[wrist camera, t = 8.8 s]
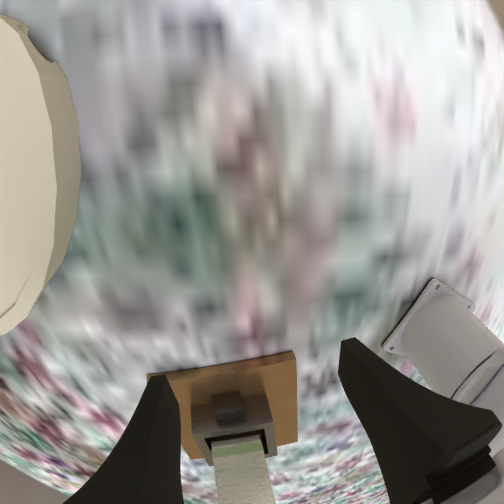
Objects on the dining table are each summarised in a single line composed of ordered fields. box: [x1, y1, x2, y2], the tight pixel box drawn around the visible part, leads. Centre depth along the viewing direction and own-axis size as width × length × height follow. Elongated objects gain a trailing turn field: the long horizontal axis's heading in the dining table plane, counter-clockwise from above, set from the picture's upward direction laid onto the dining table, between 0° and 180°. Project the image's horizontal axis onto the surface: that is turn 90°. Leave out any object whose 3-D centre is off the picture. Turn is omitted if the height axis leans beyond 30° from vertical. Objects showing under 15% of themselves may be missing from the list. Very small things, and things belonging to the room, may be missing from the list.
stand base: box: [147, 351, 298, 466], centre depth 25 cm, size 14×12×4 cm
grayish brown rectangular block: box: [211, 434, 276, 504], centre depth 20 cm, size 4×4×8 cm
